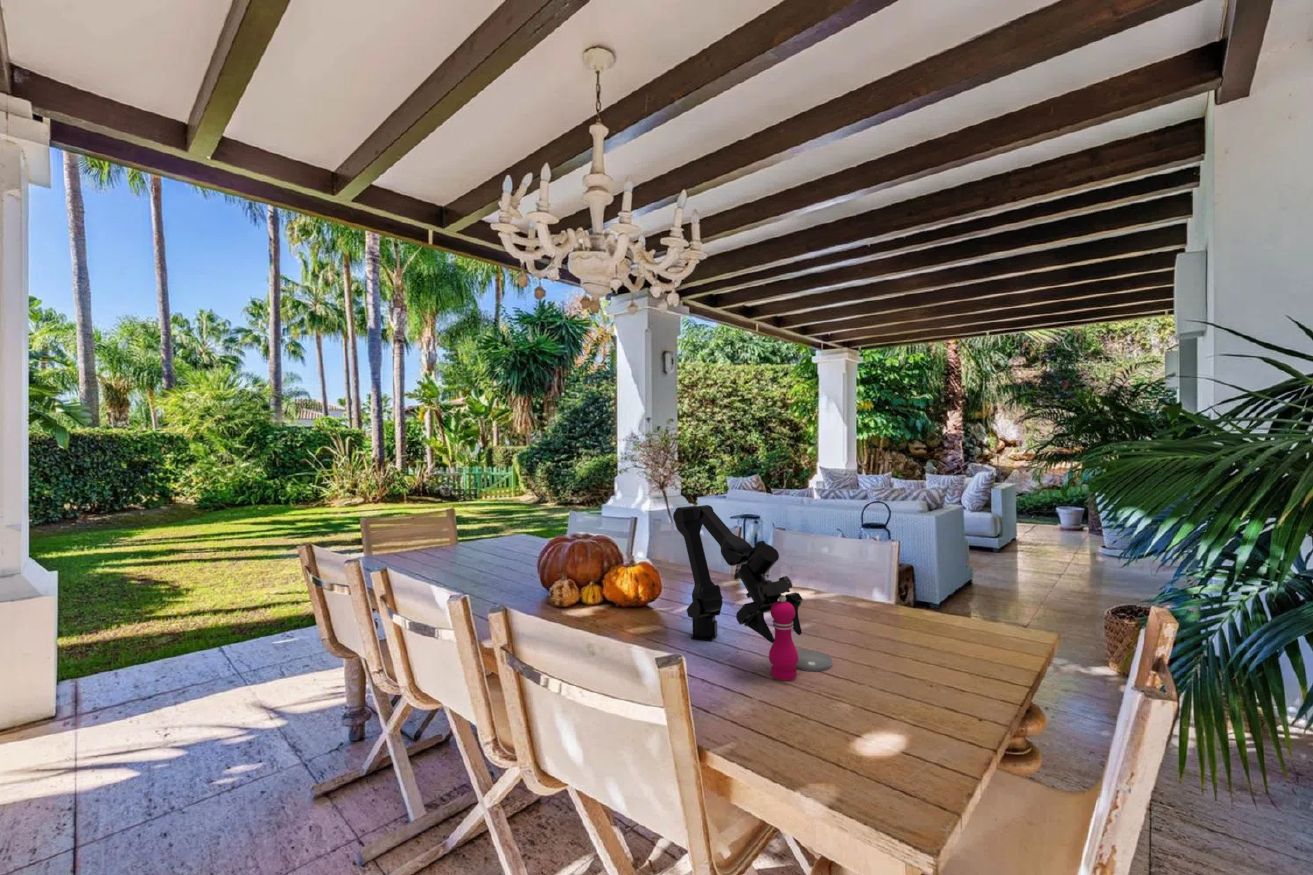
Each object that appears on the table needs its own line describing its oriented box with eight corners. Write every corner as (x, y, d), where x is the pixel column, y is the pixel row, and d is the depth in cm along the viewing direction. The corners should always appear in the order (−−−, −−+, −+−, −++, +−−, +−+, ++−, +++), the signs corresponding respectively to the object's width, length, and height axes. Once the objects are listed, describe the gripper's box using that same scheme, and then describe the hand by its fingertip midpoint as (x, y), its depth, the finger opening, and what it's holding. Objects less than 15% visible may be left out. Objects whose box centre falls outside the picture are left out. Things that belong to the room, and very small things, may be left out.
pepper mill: (801, 671, 147) (800, 592, 147) (795, 683, 140) (794, 600, 140) (772, 667, 150) (771, 590, 150) (765, 678, 143) (764, 597, 143)
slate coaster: (785, 667, 149) (785, 663, 149) (792, 652, 160) (792, 648, 160) (829, 674, 145) (829, 669, 145) (834, 657, 155) (834, 653, 155)
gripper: (742, 571, 143) (775, 629, 134) (797, 561, 153) (830, 614, 144) (723, 596, 150) (752, 652, 141) (776, 584, 160) (807, 636, 151)
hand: (787, 638), depth 144 cm, fingers open, 9 cm apart
